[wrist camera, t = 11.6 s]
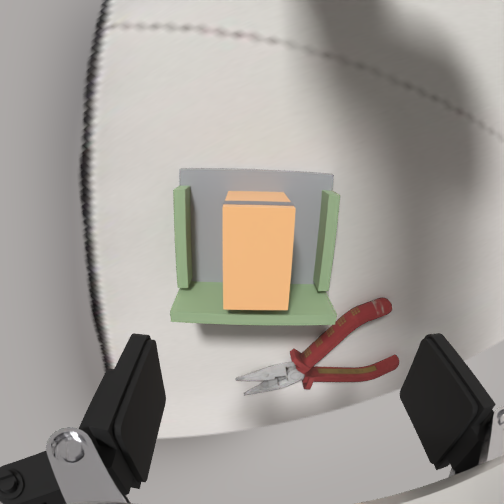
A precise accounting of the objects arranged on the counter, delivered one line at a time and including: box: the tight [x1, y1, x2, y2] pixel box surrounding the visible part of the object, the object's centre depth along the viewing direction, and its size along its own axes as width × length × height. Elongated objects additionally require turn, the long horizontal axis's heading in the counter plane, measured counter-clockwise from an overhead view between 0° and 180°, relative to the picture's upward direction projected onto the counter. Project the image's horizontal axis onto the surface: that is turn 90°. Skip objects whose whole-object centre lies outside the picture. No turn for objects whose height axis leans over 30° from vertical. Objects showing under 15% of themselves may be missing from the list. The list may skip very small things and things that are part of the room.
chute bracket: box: [170, 168, 340, 325], centre depth 27 cm, size 12×14×7 cm
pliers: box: [236, 298, 399, 395], centre depth 35 cm, size 12×20×3 cm, turn 111°
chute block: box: [223, 191, 296, 310], centre depth 26 cm, size 8×5×7 cm, turn 179°
